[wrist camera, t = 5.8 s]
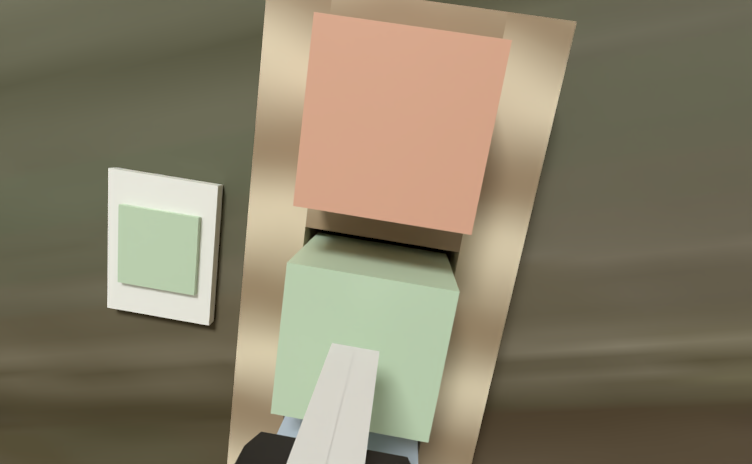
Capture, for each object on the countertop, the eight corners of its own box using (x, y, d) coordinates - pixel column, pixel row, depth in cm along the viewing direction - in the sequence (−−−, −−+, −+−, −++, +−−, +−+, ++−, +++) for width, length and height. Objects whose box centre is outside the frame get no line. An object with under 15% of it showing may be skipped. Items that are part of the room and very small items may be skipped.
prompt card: (116, 167, 22) (104, 168, 21) (223, 184, 22) (215, 186, 21) (114, 303, 24) (103, 309, 23) (213, 321, 24) (206, 327, 23)
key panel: (295, 11, 20) (267, -22, 16) (542, 46, 19) (576, 21, 15) (251, 461, 25) (222, 518, 22) (441, 497, 25) (447, 563, 21)
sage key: (318, 232, 19) (286, 262, 14) (446, 253, 19) (459, 291, 14) (303, 348, 20) (270, 413, 15) (423, 370, 20) (428, 442, 15)
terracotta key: (340, 49, 17) (313, 11, 12) (482, 70, 17) (512, 39, 12) (323, 189, 18) (292, 205, 14) (454, 211, 18) (471, 235, 13)
